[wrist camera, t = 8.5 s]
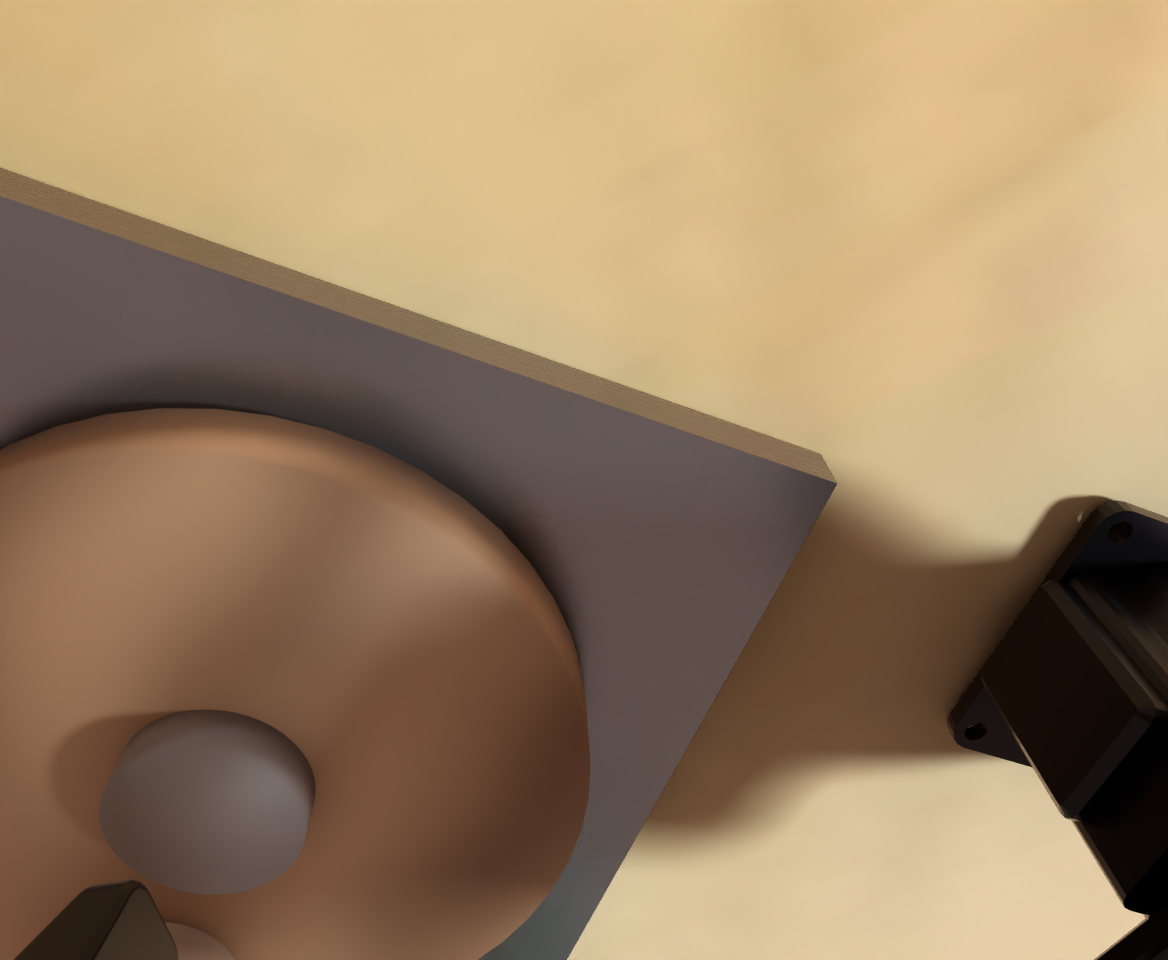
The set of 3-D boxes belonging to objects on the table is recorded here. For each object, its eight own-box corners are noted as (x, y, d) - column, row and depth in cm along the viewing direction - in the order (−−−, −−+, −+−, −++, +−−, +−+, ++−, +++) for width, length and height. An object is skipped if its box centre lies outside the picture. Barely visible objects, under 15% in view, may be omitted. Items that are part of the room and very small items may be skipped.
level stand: (820, 454, 20) (902, 600, 16) (511, 1016, 28) (508, 1220, 24) (-178, 105, 17) (-432, 172, 12) (-223, 867, 24) (-390, 1079, 20)
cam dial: (695, 540, 19) (785, 866, 13) (466, 1005, 25) (445, 1392, 19) (-126, 292, 16) (-571, 546, 10) (-166, 884, 22) (-460, 1293, 16)
